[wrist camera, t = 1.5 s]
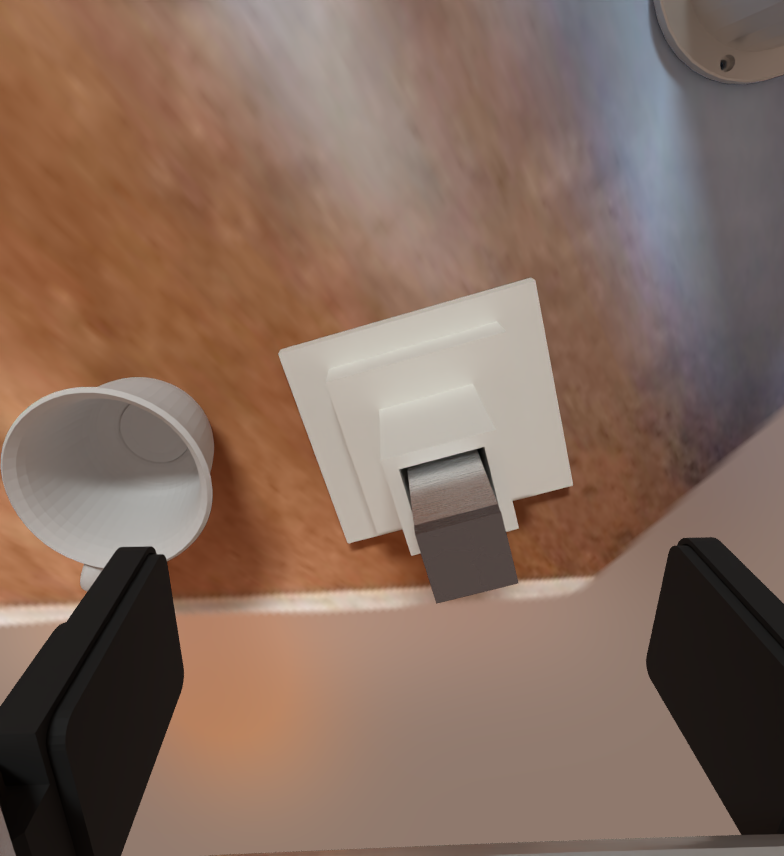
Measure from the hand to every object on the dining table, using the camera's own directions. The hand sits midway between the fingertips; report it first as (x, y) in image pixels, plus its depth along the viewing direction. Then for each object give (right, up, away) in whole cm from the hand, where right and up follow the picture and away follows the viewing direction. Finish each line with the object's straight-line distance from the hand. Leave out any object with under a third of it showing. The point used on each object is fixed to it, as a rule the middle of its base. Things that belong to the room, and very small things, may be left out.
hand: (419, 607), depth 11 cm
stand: (+2, +4, +33) cm, 34 cm away
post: (+3, +4, +32) cm, 32 cm away
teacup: (-18, +3, +33) cm, 38 cm away
